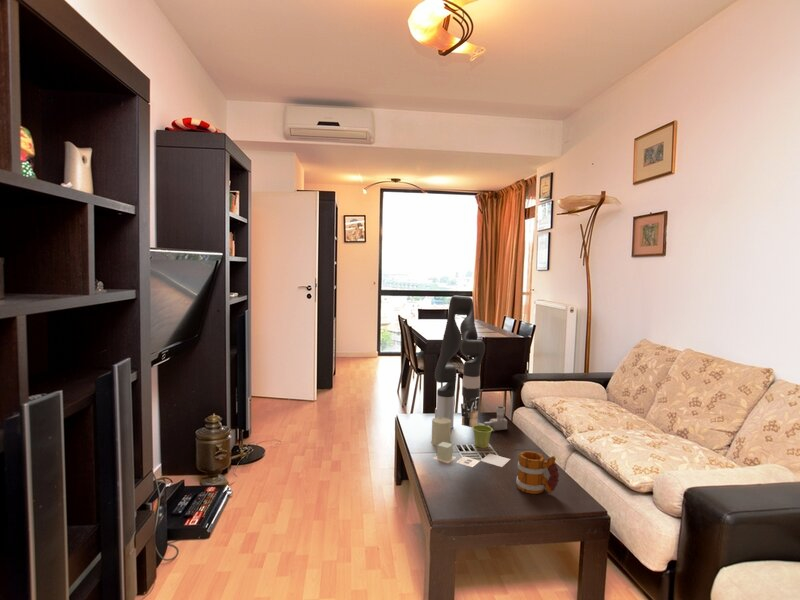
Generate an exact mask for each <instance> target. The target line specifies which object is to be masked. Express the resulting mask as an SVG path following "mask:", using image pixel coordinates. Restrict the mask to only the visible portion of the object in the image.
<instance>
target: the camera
mask: <svg viewBox="0 0 800 600" xmlns="http://www.w3.org/2000/svg"><path fill="white" fill-rule="evenodd" d="M505 407H506V406H504V405H503V406H502V405H497V406H496V418H490V419H489V421H484V422H483V423H481V422H477V425H485V426H489V427H491V428H492V432H496V431H503V430H508V419H506V418H505V412H506V411H505V410H506V409H505Z"/></svg>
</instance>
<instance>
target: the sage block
mask: <svg viewBox="0 0 800 600" xmlns="http://www.w3.org/2000/svg"><path fill="white" fill-rule="evenodd" d="M453 447H454V444H452V443H451V442H450V443H446V442H442V443H440V444H438V446H436V448H437V451H436V456H437V458H438V459H441V460H445V461H448V460H449V459H451V458H452V456H454V455H453V452H454V449H453Z"/></svg>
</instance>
